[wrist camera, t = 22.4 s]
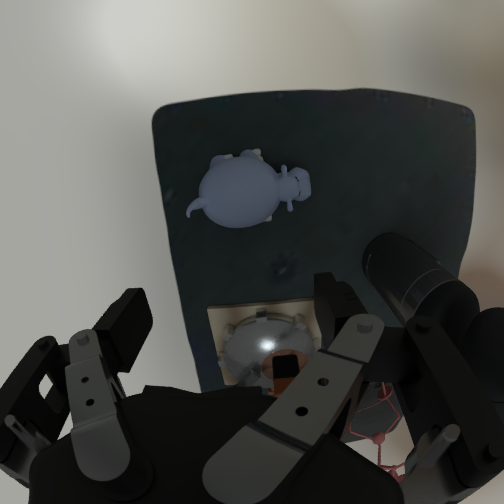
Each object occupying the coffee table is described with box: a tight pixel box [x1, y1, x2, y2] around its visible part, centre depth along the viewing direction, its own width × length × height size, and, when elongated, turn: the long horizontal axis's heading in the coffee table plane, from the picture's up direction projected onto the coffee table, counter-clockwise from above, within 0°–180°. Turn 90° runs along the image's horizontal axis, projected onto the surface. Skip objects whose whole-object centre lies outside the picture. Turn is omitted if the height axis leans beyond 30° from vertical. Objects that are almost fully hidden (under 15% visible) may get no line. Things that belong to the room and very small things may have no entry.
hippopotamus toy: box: [186, 149, 311, 228], centre depth 34 cm, size 11×15×10 cm
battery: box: [272, 355, 300, 398], centre depth 41 cm, size 4×7×10 cm, turn 5°
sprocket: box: [218, 309, 321, 391], centre depth 44 cm, size 20×18×7 cm
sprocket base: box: [207, 297, 321, 395], centre depth 47 cm, size 19×20×4 cm
